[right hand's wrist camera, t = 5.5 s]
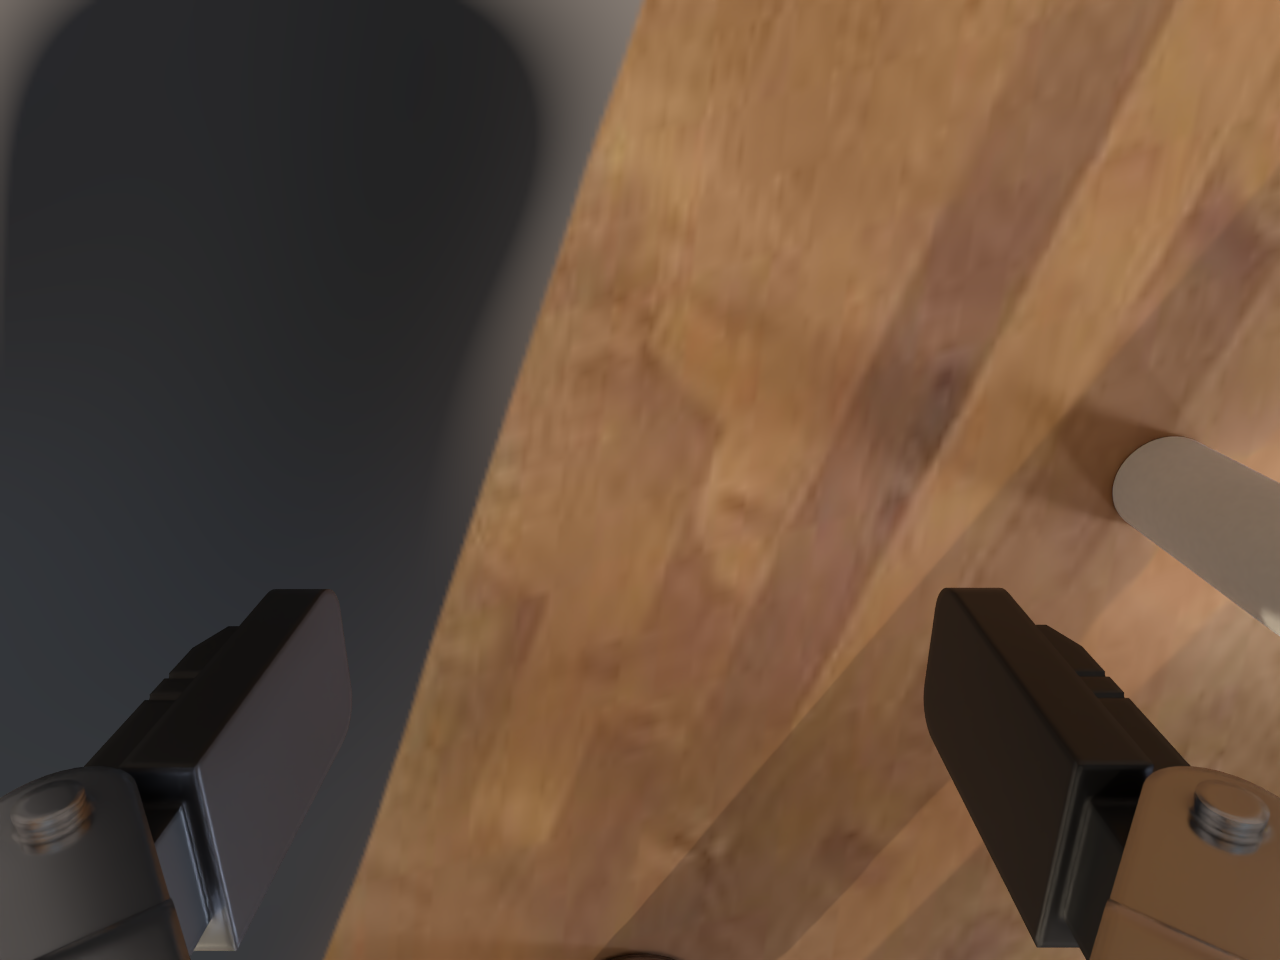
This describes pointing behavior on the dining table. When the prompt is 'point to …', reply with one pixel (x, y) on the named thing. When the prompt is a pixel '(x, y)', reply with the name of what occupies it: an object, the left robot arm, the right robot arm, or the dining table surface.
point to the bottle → (1208, 518)
